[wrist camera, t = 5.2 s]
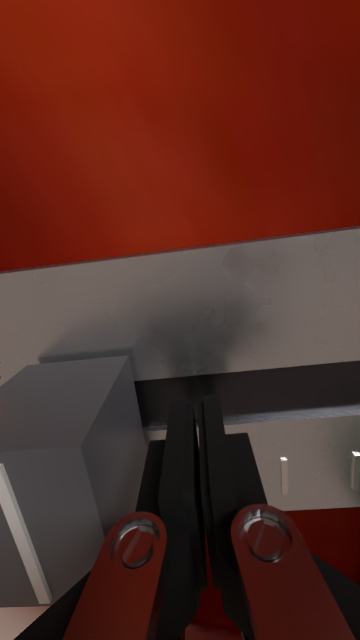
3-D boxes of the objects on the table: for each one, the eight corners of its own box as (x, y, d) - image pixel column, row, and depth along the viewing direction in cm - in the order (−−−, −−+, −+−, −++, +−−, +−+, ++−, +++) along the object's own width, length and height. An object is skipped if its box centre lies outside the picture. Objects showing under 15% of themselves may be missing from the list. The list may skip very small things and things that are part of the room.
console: (504, 207, 11) (660, 194, 7) (457, 463, 14) (547, 542, 11) (-79, 281, 13) (-187, 300, 9) (2, 492, 16) (-54, 567, 13)
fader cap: (128, 355, 11) (78, 450, 6) (149, 463, 12) (121, 609, 7) (27, 365, 11) (-97, 463, 6) (58, 469, 12) (-23, 613, 8)
